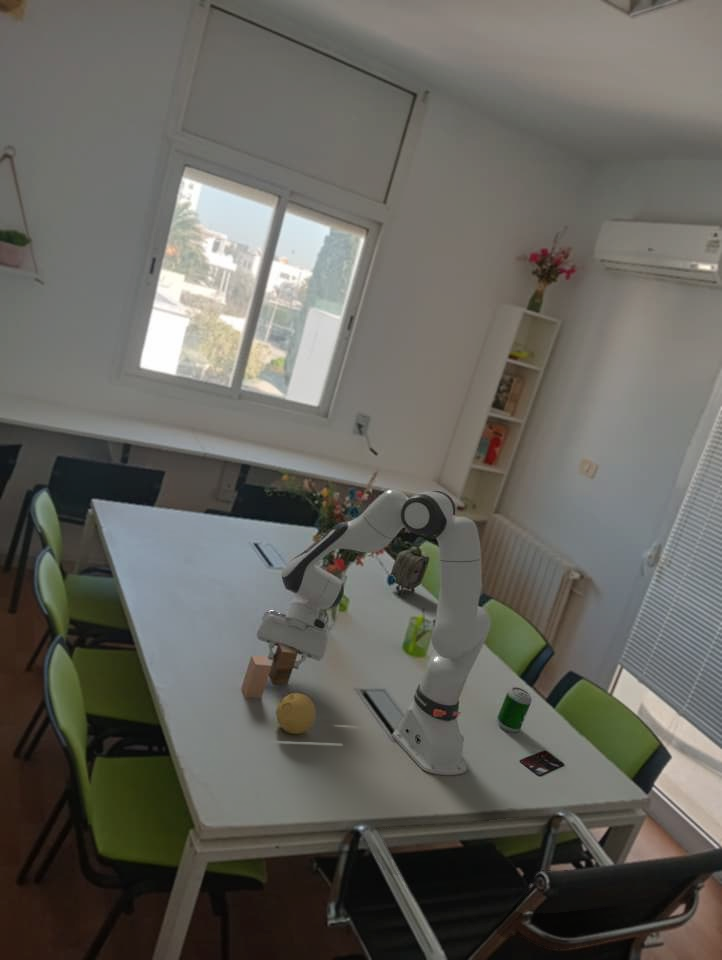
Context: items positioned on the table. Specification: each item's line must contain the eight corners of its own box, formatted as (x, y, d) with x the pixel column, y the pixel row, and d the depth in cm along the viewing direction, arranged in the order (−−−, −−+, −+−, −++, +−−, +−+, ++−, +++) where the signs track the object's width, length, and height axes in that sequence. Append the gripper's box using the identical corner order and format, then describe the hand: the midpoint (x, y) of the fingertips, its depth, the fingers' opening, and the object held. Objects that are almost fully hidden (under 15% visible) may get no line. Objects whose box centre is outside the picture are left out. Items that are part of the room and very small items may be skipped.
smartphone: (565, 764, 215) (539, 775, 205) (564, 766, 216) (538, 777, 205) (545, 749, 220) (518, 759, 209) (544, 751, 220) (517, 761, 209)
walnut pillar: (287, 684, 209) (297, 653, 207) (272, 683, 207) (282, 651, 205) (283, 675, 213) (293, 644, 211) (268, 674, 211) (278, 643, 209)
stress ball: (311, 735, 191) (305, 697, 196) (323, 726, 183) (317, 686, 188) (274, 740, 187) (269, 700, 192) (285, 730, 179) (279, 689, 184)
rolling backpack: (402, 599, 304) (421, 543, 299) (384, 589, 308) (402, 534, 303) (417, 593, 316) (436, 539, 311) (400, 584, 321) (418, 531, 315)
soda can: (514, 737, 222) (528, 702, 219) (492, 724, 225) (505, 689, 223) (522, 729, 228) (536, 695, 226) (500, 716, 232) (514, 683, 229)
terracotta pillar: (261, 698, 198) (271, 665, 196) (245, 697, 196) (255, 664, 194) (257, 689, 202) (267, 656, 200) (241, 687, 200) (251, 655, 198)
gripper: (266, 603, 214) (248, 647, 206) (333, 627, 213) (317, 672, 205) (266, 612, 219) (248, 654, 212) (331, 635, 218) (315, 679, 210)
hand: (282, 663), depth 208 cm, fingers closed on walnut pillar, 6 cm apart
